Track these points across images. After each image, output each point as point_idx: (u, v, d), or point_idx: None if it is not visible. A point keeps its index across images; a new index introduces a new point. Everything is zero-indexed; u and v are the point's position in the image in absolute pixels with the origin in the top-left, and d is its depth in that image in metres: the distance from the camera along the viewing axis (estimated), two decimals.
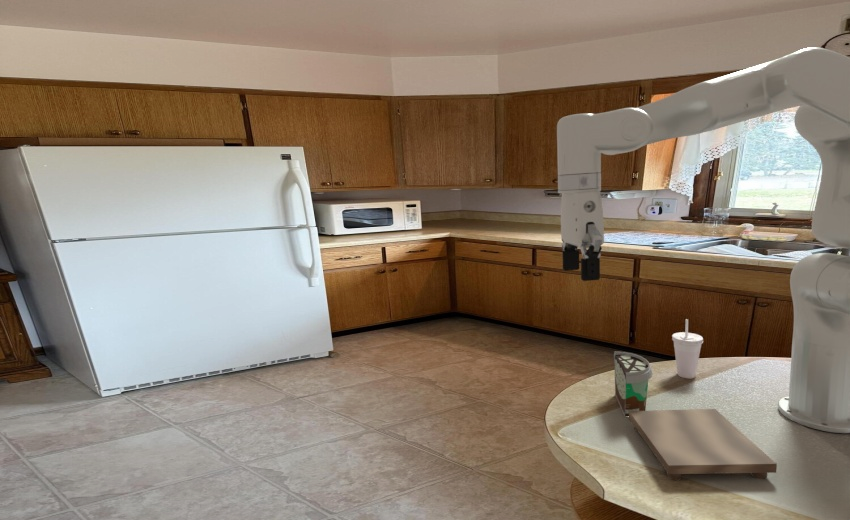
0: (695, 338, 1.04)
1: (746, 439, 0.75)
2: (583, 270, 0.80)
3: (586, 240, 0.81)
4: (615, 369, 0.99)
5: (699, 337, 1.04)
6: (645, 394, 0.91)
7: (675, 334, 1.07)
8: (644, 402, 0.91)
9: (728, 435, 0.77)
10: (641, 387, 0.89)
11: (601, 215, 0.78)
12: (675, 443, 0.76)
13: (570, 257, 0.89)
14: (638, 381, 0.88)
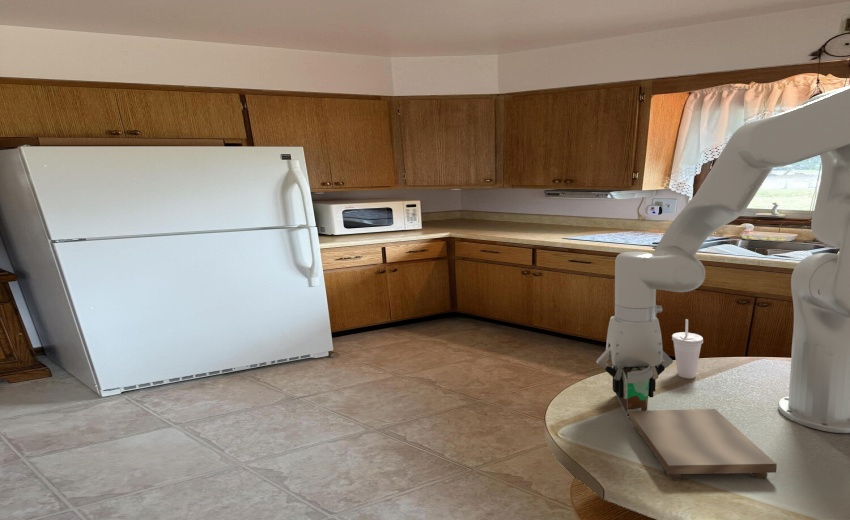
0: (695, 338, 1.04)
1: (746, 439, 0.75)
2: None
3: None
4: None
5: (699, 337, 1.04)
6: (646, 393, 0.91)
7: (675, 334, 1.07)
8: (646, 401, 0.91)
9: (728, 435, 0.77)
10: (643, 386, 0.89)
11: None
12: (675, 443, 0.76)
13: None
14: (640, 380, 0.88)
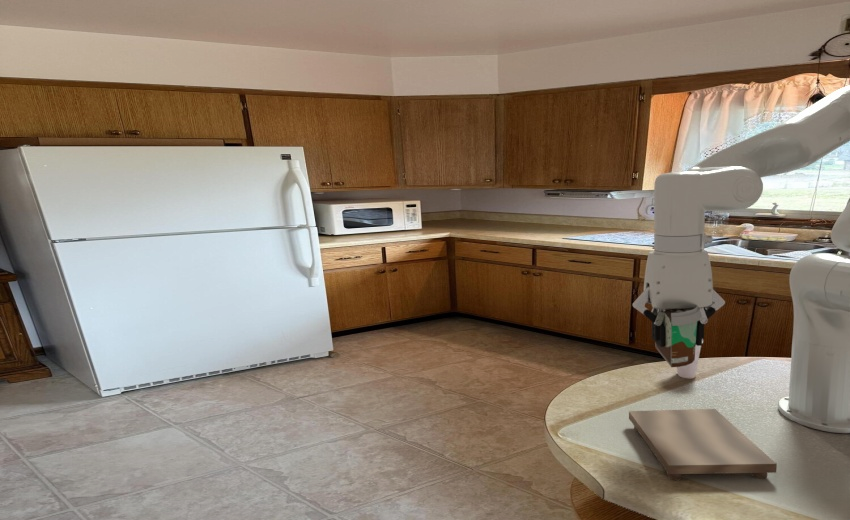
0: None
1: (746, 439, 0.75)
2: None
3: None
4: None
5: None
6: (694, 340, 0.77)
7: None
8: (693, 349, 0.77)
9: (728, 435, 0.77)
10: (690, 330, 0.75)
11: None
12: (675, 443, 0.76)
13: None
14: (686, 322, 0.74)
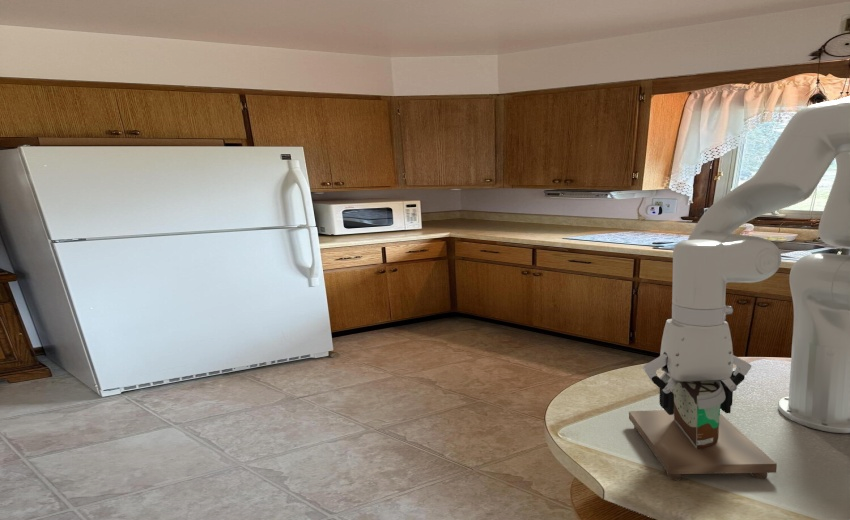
0: None
1: (746, 439, 0.75)
2: None
3: None
4: None
5: None
6: (718, 419, 0.74)
7: None
8: (717, 429, 0.74)
9: (728, 435, 0.77)
10: (715, 411, 0.73)
11: None
12: (675, 443, 0.76)
13: None
14: (713, 405, 0.71)
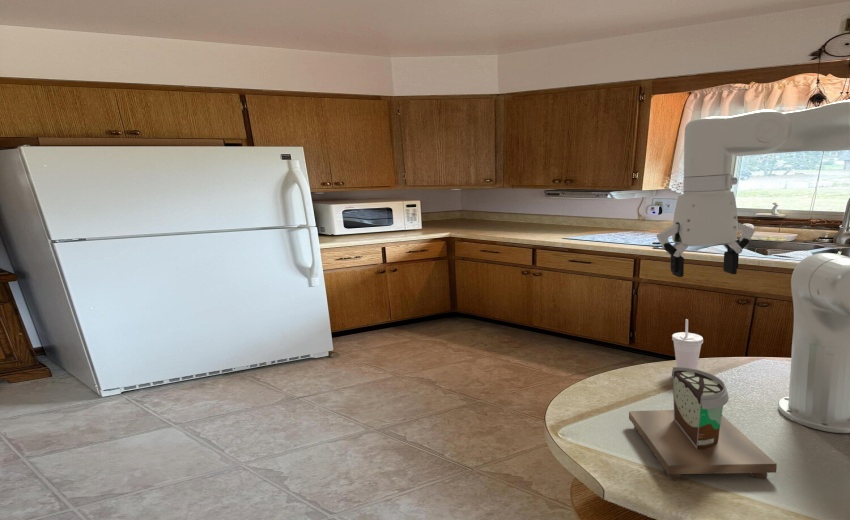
0: (695, 338, 1.04)
1: (746, 439, 0.75)
2: None
3: None
4: (674, 388, 0.82)
5: (699, 337, 1.04)
6: (720, 420, 0.74)
7: (675, 334, 1.07)
8: (718, 430, 0.74)
9: (728, 435, 0.77)
10: (718, 412, 0.73)
11: None
12: (675, 443, 0.76)
13: None
14: (716, 406, 0.71)
